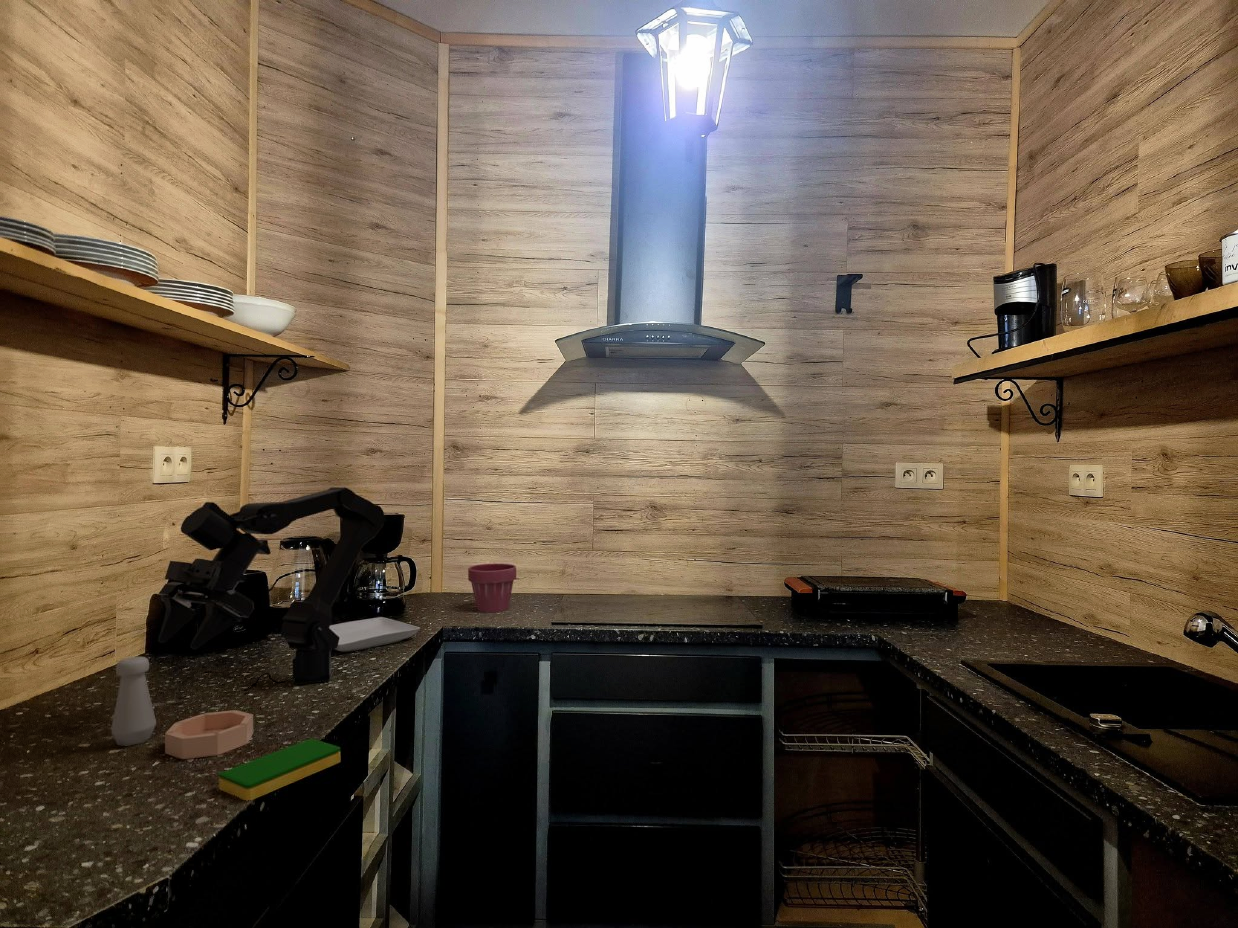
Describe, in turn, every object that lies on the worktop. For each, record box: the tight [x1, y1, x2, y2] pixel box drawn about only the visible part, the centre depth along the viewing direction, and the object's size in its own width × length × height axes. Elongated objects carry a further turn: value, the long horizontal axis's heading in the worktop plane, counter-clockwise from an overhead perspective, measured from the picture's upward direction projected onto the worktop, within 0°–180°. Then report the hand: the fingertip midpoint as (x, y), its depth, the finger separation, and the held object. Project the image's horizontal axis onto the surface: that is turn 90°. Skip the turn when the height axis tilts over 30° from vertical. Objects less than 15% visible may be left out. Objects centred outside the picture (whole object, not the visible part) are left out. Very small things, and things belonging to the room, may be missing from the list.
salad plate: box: [329, 616, 420, 653], centre depth 170 cm, size 21×21×3 cm
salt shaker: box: [110, 656, 157, 747], centre depth 109 cm, size 6×6×13 cm
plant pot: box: [467, 562, 517, 614], centre depth 205 cm, size 14×14×13 cm
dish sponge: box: [218, 738, 341, 802], centre depth 96 cm, size 7×14×2 cm, turn 148°
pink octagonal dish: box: [164, 709, 254, 760], centre depth 107 cm, size 11×11×3 cm
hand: (176, 645), depth 115 cm, fingers open, 9 cm apart
